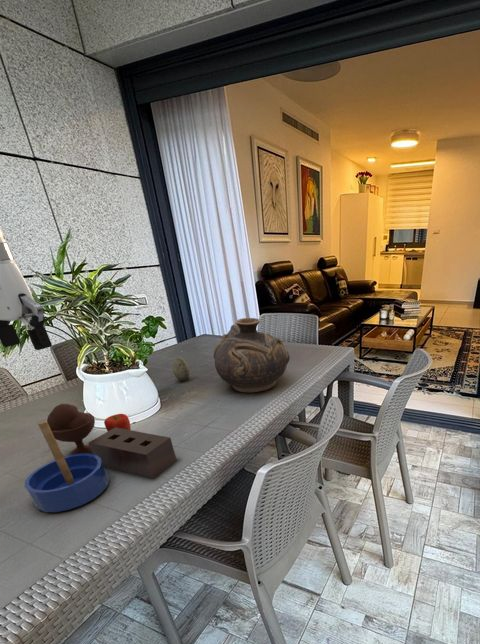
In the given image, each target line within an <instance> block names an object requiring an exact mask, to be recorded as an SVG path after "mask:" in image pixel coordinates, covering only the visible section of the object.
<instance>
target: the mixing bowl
mask: <svg viewBox="0 0 480 644" xmlns="http://www.w3.org/2000/svg"><path fill="white" fill-rule="evenodd" d="M63 457H64V459H65V461H66V463H67V465H68V467H69V469H70V472H71V474H72V476H73V478H74V480H75V483H73V484H71V485H67V483H66V481H65V479H64V477H63V475H62V473H61V471H60V469H59V467H58V465H57V463H56V461H55V459H53V460H51V461H48V462H47V463H45V464H43V465H42V466H40V467H37V468H36V469H35V470H33V471H32V472H31V473H30V474H29V475H28V476H27V477H26V479H25V481H24V488H25V490H26V492H27V493H28V495H29V497H30V499H31V501H32V502H33V504H34V506H35V507H36V508H37V510H38V511H40V512H41V511H42V512H45V513H59V512H64V511H69V510H72V509H75V508H78V507H81V506H83V505H85V504H87V503H89V502H91V501H92V500H94V499H96V498H97V497H98V496H100V495H102V493H103V492H104V491H105V490H106V489H107V487H108V485H109V482H110V479H109V475H108V472H107V470H106V467H104V465H103V463H102V460H101V458H100V457H98V456H97V455H94V454H93V453H91V454H75V455H72V454H69V455H65V456H63Z"/></svg>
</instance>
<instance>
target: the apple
mask: <svg viewBox="0 0 480 644" xmlns="http://www.w3.org/2000/svg"><path fill="white" fill-rule="evenodd" d="M103 423H104V427H105V429H106V432H108V431H110V430H111V429H113V428H115V427H116V428H121V429H127V430H131V426H132V425H131V422H130V418H129V417H128V415H127V414H125V413H117V414H113V415H110V416H108V417H106V418H105V419H104V421H103Z"/></svg>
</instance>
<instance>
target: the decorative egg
mask: <svg viewBox="0 0 480 644" xmlns="http://www.w3.org/2000/svg"><path fill="white" fill-rule="evenodd" d="M172 366H173V367H172V371H173V375H174V377H175V378H176V379H177V380H178V381H180V382H185V381H187V380H188V379H189V377H190V373H191V372H190V369H189V365H188V364H187V361H186V360H185V359H184V358H183V357H181V356H175V358H174V361H173V365H172Z"/></svg>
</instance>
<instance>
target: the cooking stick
mask: <svg viewBox="0 0 480 644" xmlns="http://www.w3.org/2000/svg"><path fill="white" fill-rule="evenodd" d="M37 425H38V428H39V429H40V431H41V434H42V436H43V438H44V440H45V442H46V444H47V446H48V449H49V450H50V453H51V454H52V457H53V458H54V460H55V461H56V463H57V465H58V467H59V469H60V471H61V473H62V475H63V477H64V479H65V481H66V483H67V485H71V484H73V483H75V480H74V478H73V476H72V474H71V472H70V469H69V467H68V465H67V463H66V461H65V459H64V457H65V456H64V455H63V453H62V450H61V448H60V446H59V444H58V442H57V440H56V439H55V437H54V435H53V433H52V431H51V429H50V427H49V425H48V422H47V419H43V420H39V421H38V422H37Z"/></svg>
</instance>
